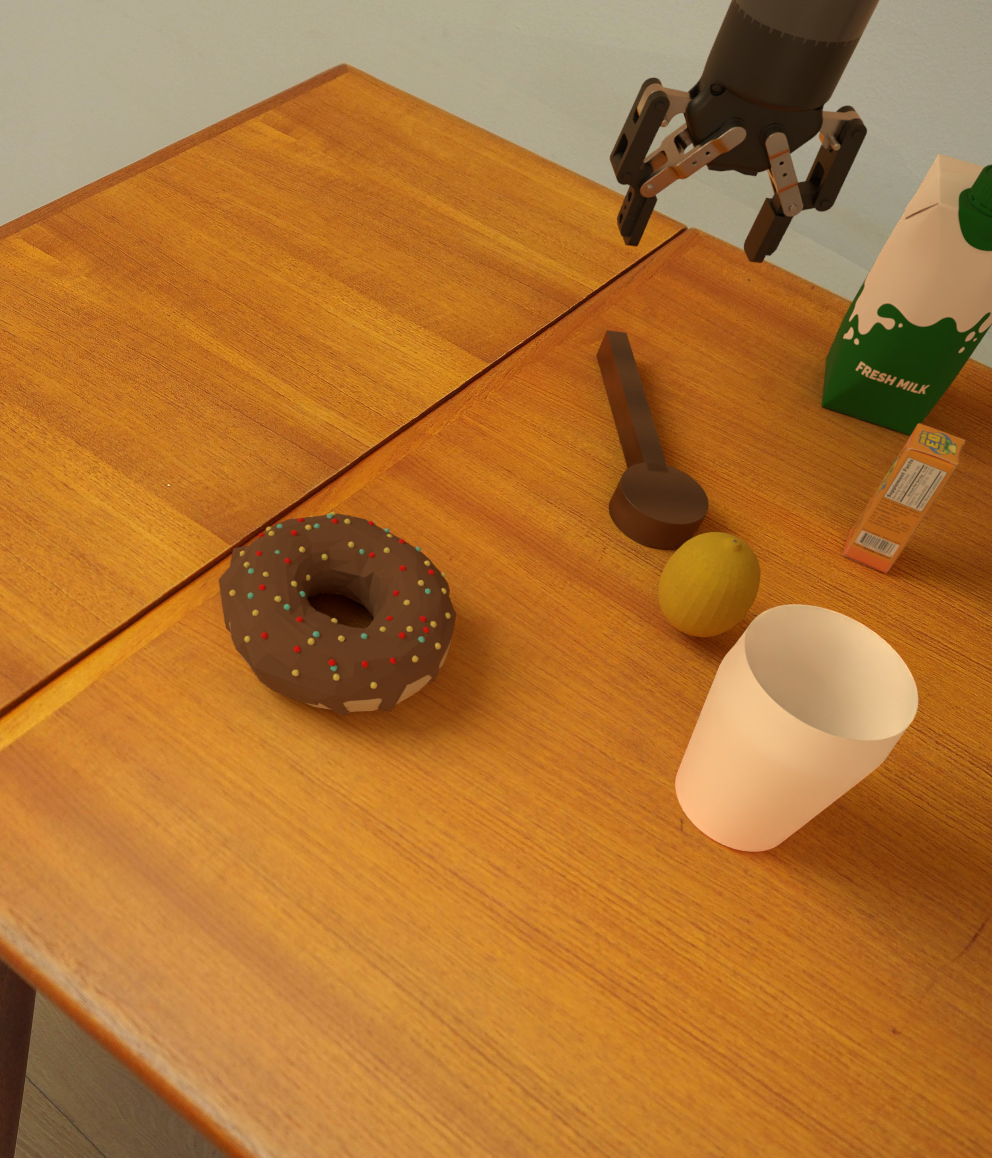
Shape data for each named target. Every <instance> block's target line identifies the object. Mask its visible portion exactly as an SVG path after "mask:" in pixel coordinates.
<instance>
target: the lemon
mask: <svg viewBox="0 0 992 1158" xmlns="http://www.w3.org/2000/svg"><path fill="white" fill-rule="evenodd" d="M761 572H762V571H761V567H760V562H759V559H758V557H757V555H756V553H755V552H754V550H753V548H751V547H750V546H749V544H748V543H746V541H744V539H741V538H739V537H737V536H736V535H733V534H731V533H727V532H721V531H710V532H703V533H700V534H698V535H696V536H695V535H694V537H693V538H691V539H689V540H688V541H686V542H685V543H684V544H683V545H682V546H681V547H679V548H677V549H676V550H675V552H673V554H671V556H670V557H669V559H668V560H667V561H666V563H665V565H664V567H663V569H662V572H661V574H660V577H659V580H658V582H657V601H658V605H659V608H660V611H661V613H662V615H663V616H664V618H665V620H666V621H667V622H668V623H669V624H670V625H671V627H673V628H675V629H676V630H677V631H679V632H680V633H683V634H685V635H688V636H691V637H698V638H709V637H716V636H719V635H721V634H724V633H727V632H729V631H730V630H732V629H733V628H734V627H735V626H737V625H738V624H740V622H742V620H743V619H744V618H745V617H746V616H747V615H748V613H749V611H750V610H751V608H752V606H753V605H754V603H755V601H756V599H757V596H758V592H759V589H760V583H761V576H762V575H761Z"/></svg>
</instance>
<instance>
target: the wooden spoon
mask: <svg viewBox="0 0 992 1158" xmlns="http://www.w3.org/2000/svg"><path fill="white" fill-rule="evenodd" d="M629 339H630V338H629V336H628V333H627V332H624V331H615V330H606V331H605V333H604V336H603V338H602V340H601V343H600V345H599V348H598V350H597V351H596V359H597V363H598V365H599V366H598V367H599V370H600V373H601V377H602V381H603V385H604V387H605V392H606V396H607V399H608V403H609V406H610V410H611V414H612V417H613V420H614V424H615V428H616V432H617V435H618V438H619V442H620V446H621V450H622V453H623V457H624V461H625V464H626V469H625V470H624V471H623V473H622V475H621V477H620V478H619V481H618V483H617V485H616V487H615V490H614V491H613V493H612V496H611V497H610V500H609V503H608V512H609V516H610V518H611V520H612V522H613V523H614V525H615V526H616V527H617V529H618V530H620V532H621V533H623V534H624V535H625V536H627V537H628V538H630V539H631V540H632V541H635V542H636V543H638V544H641V545H644V546H646V547H650V548H652V549H660V550H674V549H679V548H680V547H681V546H682V545H683V544H684V543H685V542H686V541H688V540H689V539H691V538H693V537H695V535H696V533H697V531H698V530H699V528H700V526H701V524H702V523H703V520H705V517H706V515H707V513H708V511H709V507H710V504H709V503H710V502H709V498H708V495H707V493H706V491H705V490H704V488H703V487H702V485H701V484H700V483H698V481H696V479H694V478H693V477H692V476H690V475H689V474H688V473H686V472H685V471H682V469H681V470H680V469H678V468H676V467H674V466H671V465H668V464H667V460H666V457H665V454H664V451H663V447H662V444H661V441H660V437H659V434H658V431H657V428H656V424H655V421H654V417H653V414H652V411H651V408H650V405H649V401H648V399H647V396H646V395H647V394H646V392H645V388H644V384H643V382H642V378H641V376H640V373H639V369H638V366H637V362H636V359H635V356H634V355H635V354H634V352H633V349H632V346H631V342H630V340H629Z"/></svg>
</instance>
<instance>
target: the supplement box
mask: <svg viewBox="0 0 992 1158" xmlns="http://www.w3.org/2000/svg"><path fill="white" fill-rule="evenodd" d="M965 444H966V439H964V438H961V437H959V436H956V435H953V434H950V433H948V432H945V431H943V430H940V429H938V428H934V427H932V426H928V425H926V424H923V423H921V424H920V423H918V424H917V426H916V427H915V429H914V431H913V433H912V434H911V435H909V438H908V439H907V441H906V443H905V444H904V446H903V448H902V449H901V451H900V452H899V454H898V455H897V457H896V458H895V460H894V461H893V463H892V464H891V466H890V467H889V469H888V471H887V473H886V474H885V476H884V477H883V479H882V480H881V482H880V484H879V485H878V487H877V489H876V490H875V491H874V493H873V495H872V497H871V498H870V500H869V501H868V502H867V505H866V506H865V507H864V509H863V511H862V512H861V514H860V515H859V517H858V518H857V520H856V522H855V523H854V524H853V527H851V529H850V531H849V532H848V535H847V538H846V541H845V544H844V547H843V550H842V553H841V554H842V556H844V557H846V558H847V559H850V560H852V561H855V562H857V563H859V564H861V565H864V566H867V567H869V568H871V569H873V570H876V571H878V572H881V573H884V574H887V573H888V572H890V570H891V569H892V567H893V566H894V564H895V563H896V562H897V560H898V558H899V557H900V555H901V553H902V552H903V551H904V549H905V548H906V546H907V545H908V543H909V542H910V540H911V539H912V537H913V536H914V534H915V533H916V531H917V529H918V528H919V526H920V525H921V524H922V522H923V520H924V519H925V518H926V516H927V514H928V513H929V511H930V510H931V508H932V507H933V505H934V503H935V502H936V500H937V499H938V498H939V496H940V494H941V493H942V491H943V489H944V488H945V487H946V485H947V483H948V482H949V480H950V479H951V477H952V475H953V473H954V472H955V471H956V469H957V467H958V466H959V465H960V456H961V453H962V450H963V448H964V446H965Z"/></svg>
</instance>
